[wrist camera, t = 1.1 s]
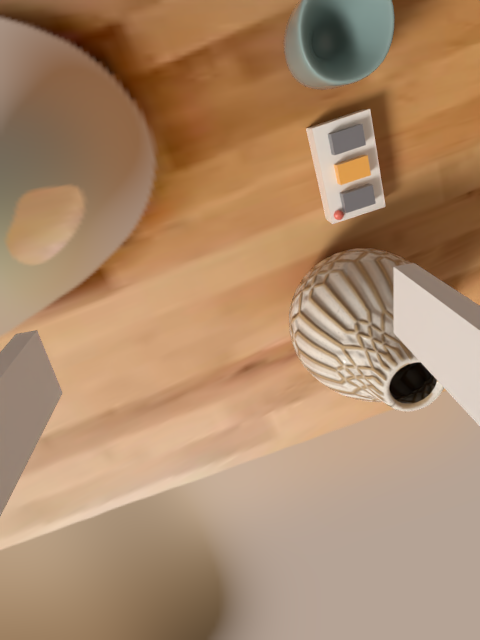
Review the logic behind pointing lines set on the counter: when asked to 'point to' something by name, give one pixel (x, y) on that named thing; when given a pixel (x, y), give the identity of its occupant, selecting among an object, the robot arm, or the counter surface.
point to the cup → (337, 40)
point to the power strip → (347, 166)
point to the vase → (358, 331)
